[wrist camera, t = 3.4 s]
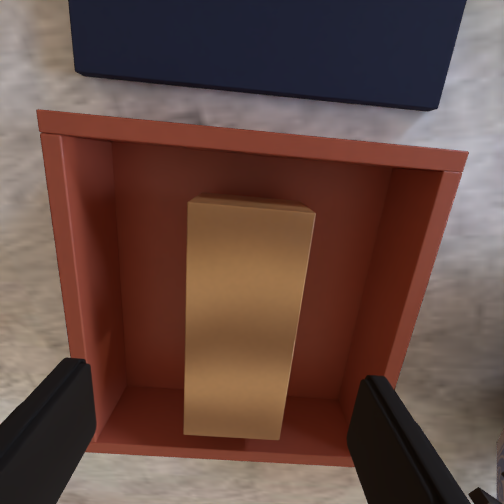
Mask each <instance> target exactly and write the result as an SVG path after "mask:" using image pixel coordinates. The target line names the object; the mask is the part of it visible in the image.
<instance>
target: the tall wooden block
mask: <svg viewBox="0 0 504 504" xmlns="http://www.w3.org/2000/svg"><path fill="white" fill-rule="evenodd" d="M315 217H316V213H315V212H313V211H312V210H311V209H310V208H308V207H307V206H306V205H305V204H303V203H302V202H301V201H294V200H283V199H271V198H260V197H249V196H238V195H227V194H215V193H204V192H202V193H200V194H199V195H197V196H196V197H194V198H193V199H191V200H190V201H188V202H187V246H186V307H185V367H184V427H183V434H184V435H198V436H215V437H232V438H249V439H266V440H279V439H280V433H281V426H282V420H283V414H284V408H285V402H286V396H287V389H288V383H289V377H290V371H291V365H292V359H293V352H294V346H295V340H296V334H297V328H298V322H299V315H300V309H301V303H302V297H303V291H304V285H305V278H306V272H307V266H308V260H309V254H310V248H311V241H312V235H313V229H314V223H315Z"/></svg>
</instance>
